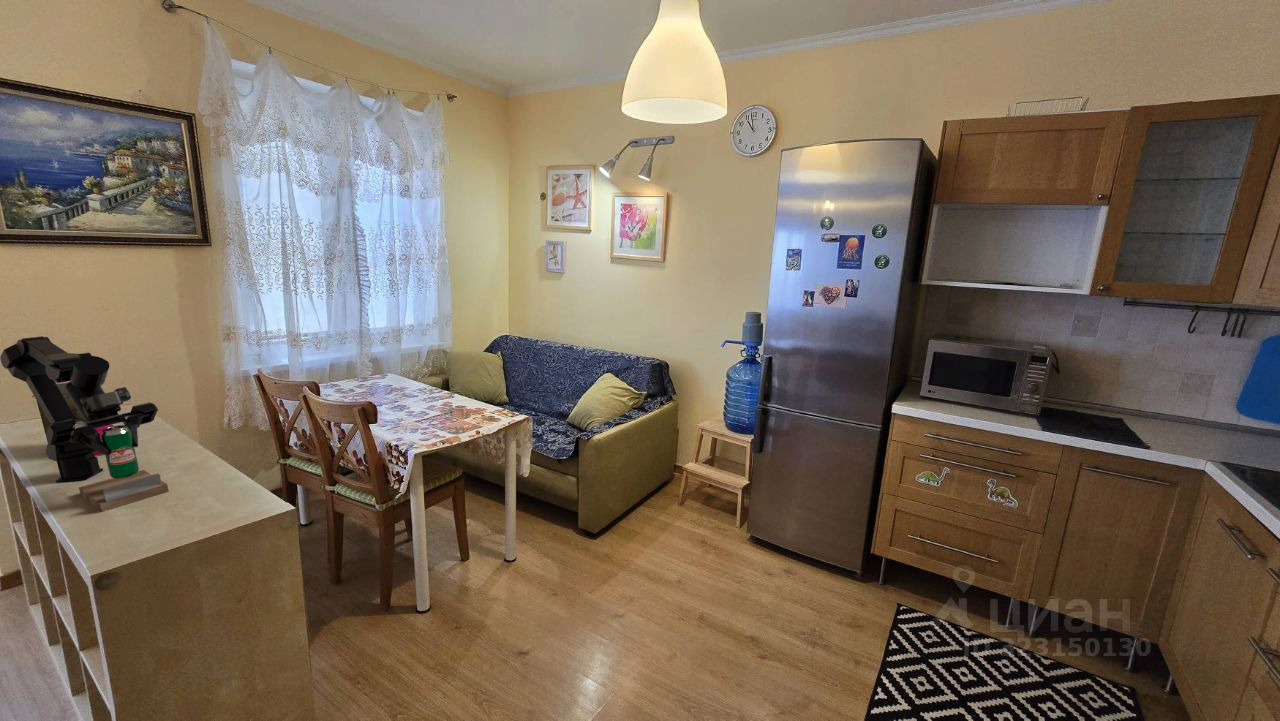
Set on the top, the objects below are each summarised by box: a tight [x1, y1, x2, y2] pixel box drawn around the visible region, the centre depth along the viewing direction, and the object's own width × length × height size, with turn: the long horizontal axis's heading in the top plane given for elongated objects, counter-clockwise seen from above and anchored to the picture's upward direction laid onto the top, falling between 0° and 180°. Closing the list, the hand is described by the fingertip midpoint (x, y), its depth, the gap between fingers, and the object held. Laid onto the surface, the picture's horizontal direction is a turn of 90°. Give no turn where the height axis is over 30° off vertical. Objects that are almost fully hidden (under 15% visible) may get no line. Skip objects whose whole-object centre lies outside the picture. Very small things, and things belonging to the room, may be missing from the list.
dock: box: [78, 469, 170, 512], centre depth 128 cm, size 16×12×5 cm
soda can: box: [101, 424, 140, 479], centre depth 125 cm, size 5×5×12 cm
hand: (122, 450), depth 124 cm, fingers closed on soda can, 5 cm apart
